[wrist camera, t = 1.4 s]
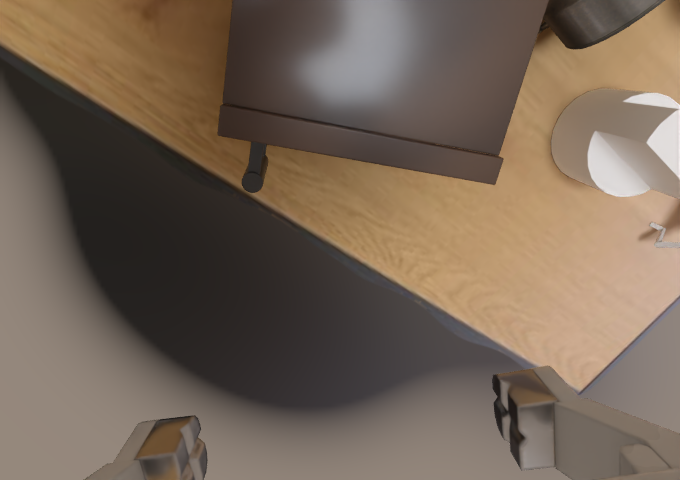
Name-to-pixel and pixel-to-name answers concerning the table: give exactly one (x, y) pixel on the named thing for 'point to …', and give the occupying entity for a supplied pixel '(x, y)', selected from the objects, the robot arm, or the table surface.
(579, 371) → the table surface
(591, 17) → the alarm clock
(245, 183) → the green sliding door
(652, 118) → the base with upright slab
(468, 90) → the brown wooden cabinet
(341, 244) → the table surface
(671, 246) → the white flat-topped legged piece
